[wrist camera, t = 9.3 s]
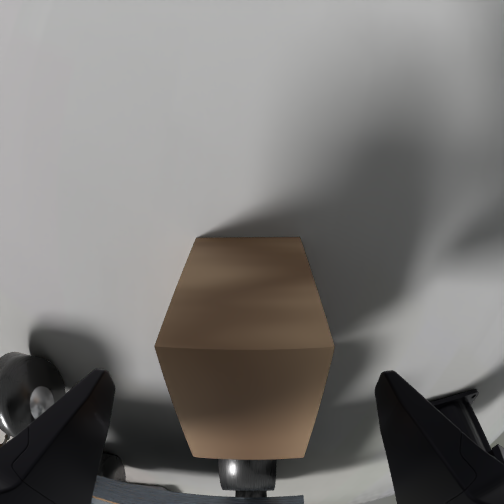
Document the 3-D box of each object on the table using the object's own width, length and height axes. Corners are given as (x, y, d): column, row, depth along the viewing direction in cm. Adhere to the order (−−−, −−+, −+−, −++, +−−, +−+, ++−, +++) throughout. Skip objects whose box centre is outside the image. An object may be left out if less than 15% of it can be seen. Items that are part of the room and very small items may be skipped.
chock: (299, 236, 12) (334, 346, 6) (290, 349, 14) (303, 457, 9) (196, 237, 12) (154, 346, 6) (209, 349, 14) (193, 456, 9)
